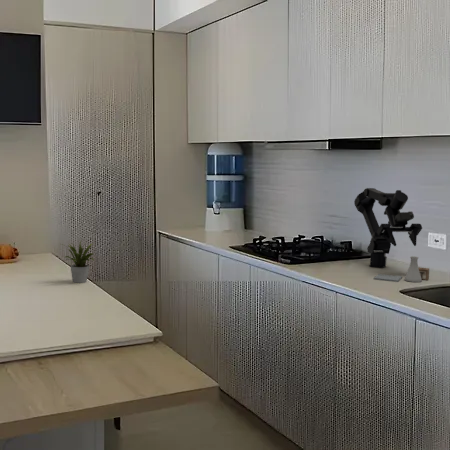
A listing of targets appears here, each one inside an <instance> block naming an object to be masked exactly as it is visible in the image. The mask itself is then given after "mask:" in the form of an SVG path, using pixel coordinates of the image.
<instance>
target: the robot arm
mask: <svg viewBox="0 0 450 450" xmlns="http://www.w3.org/2000/svg"><path fill="white" fill-rule="evenodd" d="M408 200H409V196H408V195H407V194H406V193H405V192H402V190H401V189H400V190H399V189H397V190H396V191H395V192H383V191H382V190H378V189H376V188H375V187H374V188H373V187H366V188H365V189H364V190H363V191H362V192H360V193H359V194H357V196H356V197H355V199H354V207H355V209H356V210H357V211H358V212H359V213H361V214H362V216H363V218H364V220H365V223H366V226H367V228H368V231H369V234H370V236H371V237H370V241H369V242H370V243H369V245H368V246H367V249H366V250H367V253H369V254H370V259H369V260H370V261H369V263H370V264H369V265H368V267H371V268H382V269H383V268H385V267H386V266H387V260H388V259H387V258H388V257H387V256H386V254H388V255H389V253H390V250H391V247H392V246H394V247H397V242H396V239H395V237H394V234H393V232H395V233H407V235H408V238H409V239H410V241H411V243H412V245H413V246H414V247H416V246H417V239H418V238H417V237H418V235H419V234H420V233H421V231H422V229H423V227H422V224H421V223H411V225H410V226H407V225H408V224H409V223H408V222H409V221H411V220H414V218H415V215H414V213H413V211H407V212H405V211H403V212H401V210H403V208H404V206H405V205H406V203H407V202H408ZM376 201H377V203H378V204H379V205H380V206H382V207H385V209H384V211H383V215H386V216H387V219H388V220H387V221H388V222H387V223H381V224H380V225H379V223H378V220H377V218H376V215H375V212H374V210H373V208H374V206H375V203H376Z"/></svg>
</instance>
